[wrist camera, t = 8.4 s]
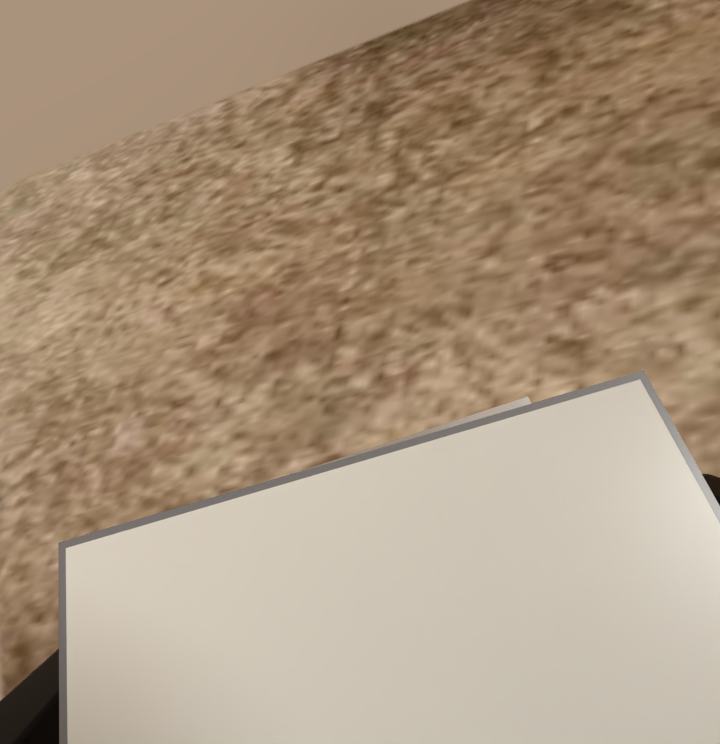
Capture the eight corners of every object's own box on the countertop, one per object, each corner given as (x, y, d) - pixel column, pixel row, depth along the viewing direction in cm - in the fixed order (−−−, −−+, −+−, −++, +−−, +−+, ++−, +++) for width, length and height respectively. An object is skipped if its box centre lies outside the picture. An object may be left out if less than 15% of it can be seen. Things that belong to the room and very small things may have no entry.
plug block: (522, 674, 14) (1122, 1223, 2) (378, 715, 14) (62, 1513, 2) (476, 541, 15) (644, 370, 3) (346, 578, 15) (57, 542, 3)
